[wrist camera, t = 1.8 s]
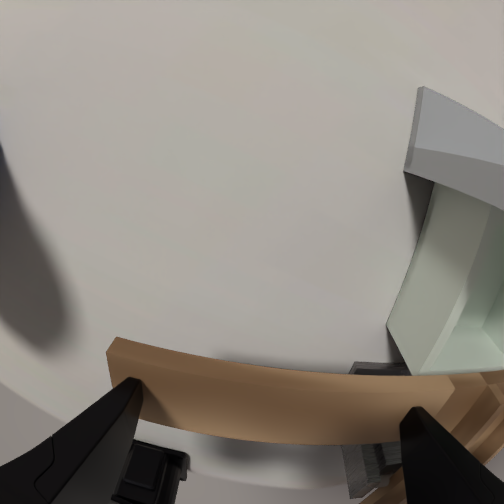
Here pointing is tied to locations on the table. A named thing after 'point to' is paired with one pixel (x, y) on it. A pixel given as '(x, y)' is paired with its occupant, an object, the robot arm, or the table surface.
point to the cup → (453, 289)
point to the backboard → (456, 148)
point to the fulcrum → (376, 454)
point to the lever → (309, 403)
